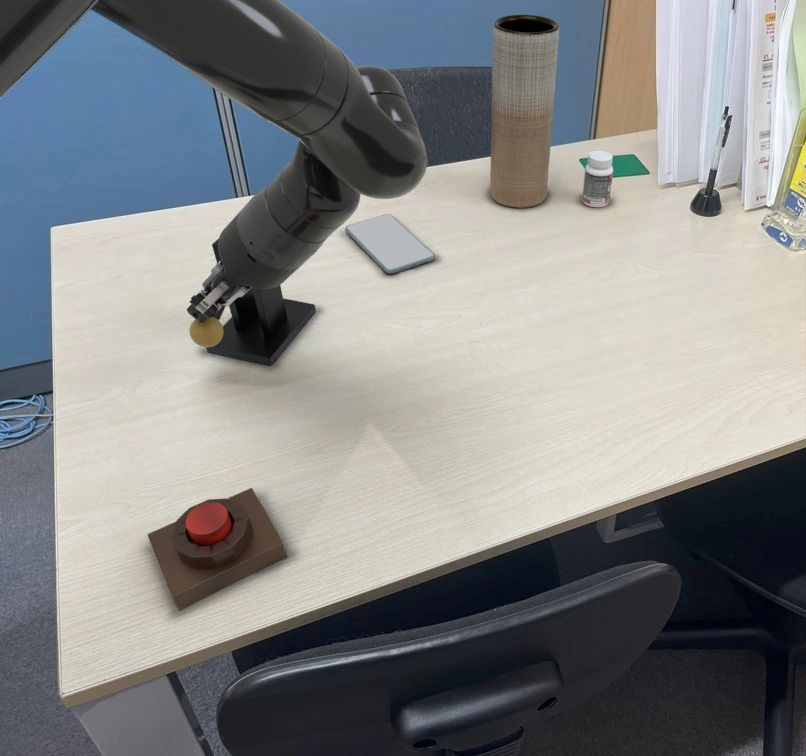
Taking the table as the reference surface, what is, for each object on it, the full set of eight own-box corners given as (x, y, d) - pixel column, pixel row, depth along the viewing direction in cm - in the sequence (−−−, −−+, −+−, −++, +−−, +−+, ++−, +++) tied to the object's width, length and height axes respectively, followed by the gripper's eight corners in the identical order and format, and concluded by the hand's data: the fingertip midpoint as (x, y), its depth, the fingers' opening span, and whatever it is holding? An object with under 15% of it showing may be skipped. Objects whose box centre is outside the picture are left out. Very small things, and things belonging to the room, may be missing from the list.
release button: (197, 552, 62) (192, 540, 61) (185, 525, 65) (179, 513, 63) (237, 533, 64) (233, 522, 63) (224, 507, 66) (219, 495, 65)
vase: (547, 184, 126) (560, 16, 108) (545, 210, 119) (558, 35, 101) (493, 180, 127) (496, 12, 108) (487, 206, 119) (489, 31, 101)
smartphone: (387, 271, 102) (343, 225, 111) (388, 277, 103) (343, 231, 112) (437, 255, 106) (390, 212, 115) (437, 260, 106) (390, 217, 115)
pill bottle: (611, 207, 120) (618, 161, 115) (584, 208, 120) (590, 161, 114) (605, 194, 124) (611, 149, 118) (579, 195, 124) (584, 149, 118)
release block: (179, 611, 62) (166, 586, 59) (154, 547, 67) (140, 522, 64) (287, 556, 67) (279, 531, 64) (256, 501, 71) (247, 475, 69)
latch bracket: (271, 366, 87) (248, 271, 78) (207, 352, 89) (176, 258, 79) (316, 311, 96) (299, 220, 87) (256, 299, 97) (234, 209, 88)
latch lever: (221, 355, 81) (206, 341, 77) (193, 349, 81) (178, 335, 78) (267, 253, 86) (255, 235, 83) (241, 248, 87) (228, 230, 83)
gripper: (279, 176, 72) (203, 259, 82) (205, 239, 62) (130, 324, 73) (334, 230, 74) (254, 304, 85) (271, 299, 65) (189, 373, 75)
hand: (197, 313), depth 79 cm, fingers closed
